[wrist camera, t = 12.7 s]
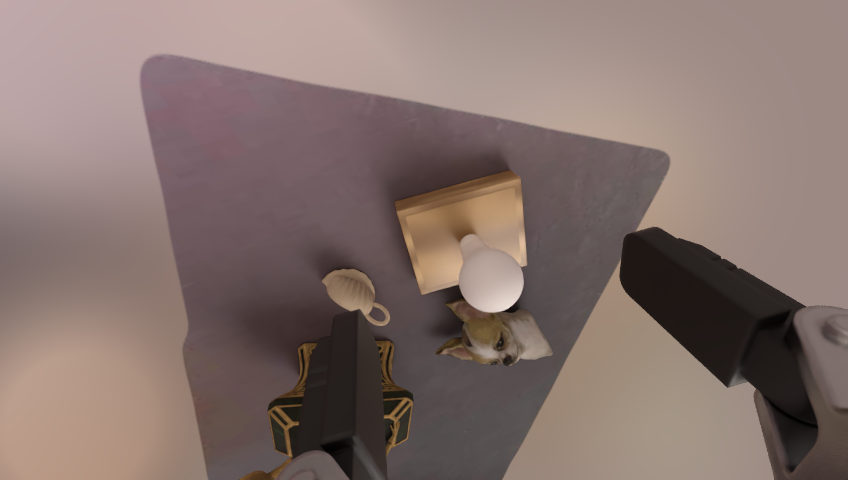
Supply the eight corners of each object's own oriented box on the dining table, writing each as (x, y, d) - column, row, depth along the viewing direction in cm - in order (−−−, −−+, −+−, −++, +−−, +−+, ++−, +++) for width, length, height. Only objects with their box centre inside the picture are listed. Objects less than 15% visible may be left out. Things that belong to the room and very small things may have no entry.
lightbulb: (485, 264, 41) (521, 327, 31) (437, 260, 39) (460, 325, 30) (500, 219, 38) (544, 274, 28) (449, 213, 37) (479, 269, 27)
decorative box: (405, 334, 48) (427, 484, 32) (400, 378, 53) (417, 531, 36) (259, 338, 45) (194, 512, 28) (267, 385, 49) (216, 559, 32)
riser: (394, 201, 38) (396, 212, 35) (510, 169, 38) (520, 177, 36) (418, 281, 44) (421, 295, 42) (518, 253, 44) (527, 265, 42)
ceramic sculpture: (546, 391, 46) (440, 391, 43) (523, 344, 53) (432, 342, 51) (571, 333, 41) (453, 330, 39) (542, 291, 48) (442, 286, 46)
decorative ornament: (339, 258, 41) (336, 284, 36) (391, 290, 44) (394, 317, 40) (320, 280, 42) (314, 308, 37) (372, 309, 45) (373, 338, 41)
